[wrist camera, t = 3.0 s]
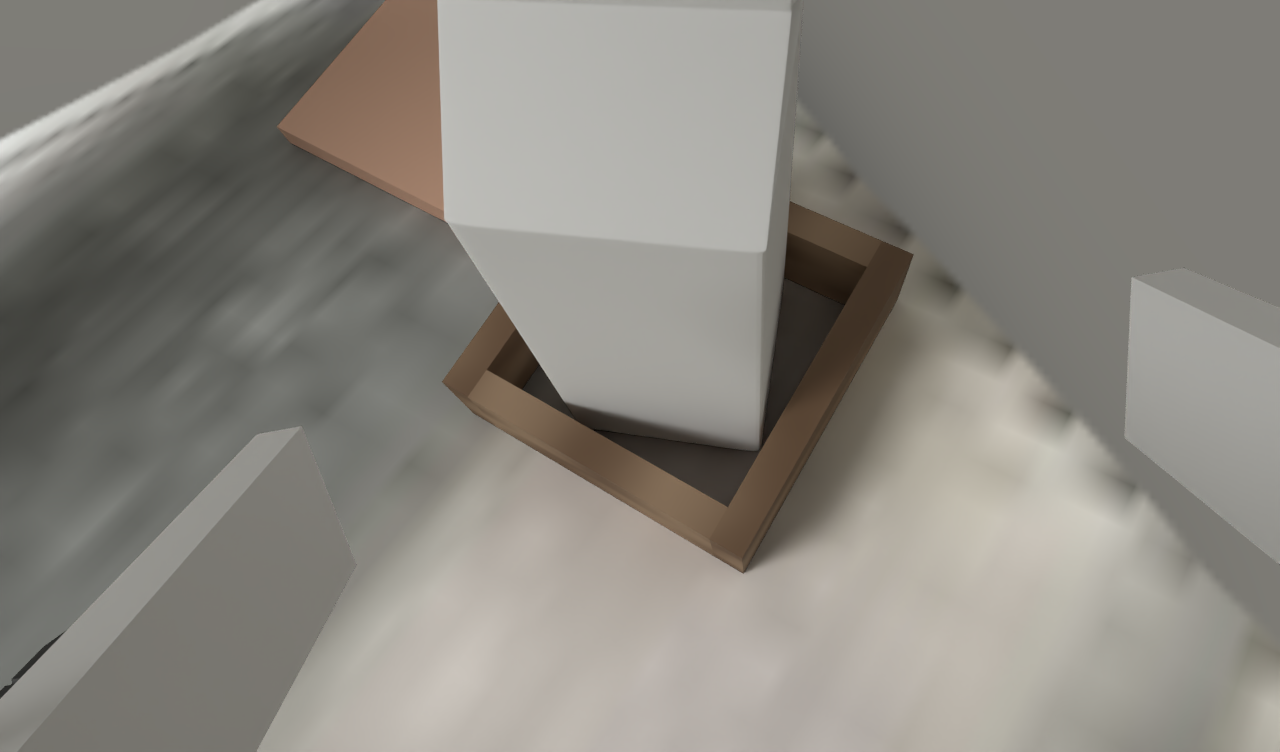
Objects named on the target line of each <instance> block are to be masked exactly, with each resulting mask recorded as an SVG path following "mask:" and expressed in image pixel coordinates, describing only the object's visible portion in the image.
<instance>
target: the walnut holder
mask: <svg viewBox="0 0 1280 752" xmlns="http://www.w3.org/2000/svg"><path fill="white" fill-rule="evenodd" d="M913 255H914V254H911V253H909V252H907V251H904V250H902V249H900V248H897V247H895V246H893V245H890V244H888V243H886V242H883V241H881V240H879V239H876V238H874V237H872V236H869V235H867V234H865V233H862V232H860V231H858V230H855V229H853V228H851V227H848V226H846V225H844V224H841V223H839V222H837V221H834V220H832V219H830V218H827V217H825V216H823V215H820V214H818V213H816V212H813V211H811V210H809V209H806V208H804V207H802V206H799V205H797V204H795V203H792V202H789V216H788V230H787V244H786V258H785V272H784V277H785V278H787V279H789V280H791V281H793V282H796V283H798V284H800V285H802V286H804V287H806V288H809V289H811V290H813V291H815V292H817V293H819V294H822V295H824V296H826V297H828V298H830V299H832V300H835V301H837V302H839V303H841V304H843V305H845V306H844V308H843V309H842V311H841V313H840V315H839V316H838V318H837V320H836V321H835V323H834V325H833V327H832V328H831V330H830V332H829V334H828V335H827V337H826V339H825V340H824V342H823V344H822V346H821V347H820V349H819V351H818V352H817V354H816V356H815V358H814V359H813V361H812V363H811V365H810V366H809V368H808V370H807V371H806V373H805V375H804V377H803V378H802V380H801V382H800V384H799V385H798V387H797V389H796V390H795V392H794V394H793V396H792V397H791V399H790V401H789V402H788V404H787V406H786V408H785V409H784V411H783V413H782V415H781V416H780V418H779V420H778V421H777V423H776V425H775V427H774V428H773V430H772V432H771V433H770V435H769V437H768V439H767V440H766V442H765V444H764V446H763V447H762V449H761V451H760V452H759V454H758V456H757V458H756V459H755V461H754V463H753V465H752V466H751V468H750V470H749V471H748V473H747V475H746V477H745V478H744V480H743V482H742V483H741V485H740V487H739V489H738V490H737V492H736V494H735V496H734V497H733V499H732V501H731V502H730V504H729V506H728V507H727V506H725V505H723V504H721V503H720V502H718V501H716V500H714V499H713V498H711V497H709V496H707V495H706V494H704V493H702V492H700V491H699V490H697V489H695V488H693V487H692V486H690V485H688V484H686V483H684V482H683V481H681V480H679V479H677V478H676V477H674V476H672V475H670V474H669V473H667V472H665V471H663V470H662V469H660V468H658V467H656V466H655V465H653V464H651V463H649V462H648V461H646V460H644V459H642V458H641V457H639V456H637V455H635V454H634V453H632V452H630V451H628V450H627V449H625V448H623V447H621V446H620V445H618V444H616V443H614V442H613V441H611V440H609V439H607V438H606V437H604V436H602V435H600V434H599V433H597V432H595V431H593V430H592V429H590V428H588V427H586V426H585V425H583V424H581V423H579V422H578V421H576V420H574V419H572V418H570V417H569V416H567V415H565V414H563V413H562V412H560V411H558V410H556V409H555V408H553V407H551V406H549V405H548V404H546V403H544V402H542V401H541V400H539V399H537V398H535V397H534V396H532V395H530V394H528V393H527V392H525V391H523V390H522V389H523V387H524V386H525V384H526V383H527V381H528V380H529V379H530V377H531V376H532V374H533V373H534V371H535V370H536V368H537V367H538V365H539V362H538V361H537V359H536V358H535V356H534V355H533V353H532V352H531V350H530V349H529V347H528V346H527V344H526V342H525V341H524V339H523V338H522V336H521V335H520V333H519V332H518V330H517V329H516V327H515V326H514V324H513V323H512V321H511V319H510V318H509V316H508V315H507V313H506V312H505V310H504V309H503V307H502V306H501V304H500V303H498V304H497V306H496V307H495V308H494V310H493V311H492V313H491V314H490V315H489V317H488V318H487V320H486V321H485V322H484V324H483V325H482V327H481V328H480V329H479V331H478V332H477V334H476V335H475V336H474V338H473V339H472V341H471V342H470V343H469V345H468V346H467V348H466V349H465V350H464V352H463V353H462V355H461V356H460V357H459V359H458V360H457V361H456V363H455V364H454V366H453V367H452V368H451V370H450V371H449V373H448V374H447V375H446V377H445V378H444V380H443V381H442V382H443V383H444V384H445V385H446V386H447V387H448V388H449V389H450V390H451V391H452V392H453V393H454V394H455V395H456V396H457V397H458V398H459V399H460V400H461V401H462V402H463V403H464V404H465V405H466V406H467V407H468V408H469V409H470V410H471V411H472V412H473V413H474V414H476V415H478V416H479V417H481V418H483V419H484V420H486V421H488V422H489V423H491V424H493V425H494V426H496V427H498V428H499V429H501V430H503V431H504V432H506V433H508V434H510V435H511V436H513V437H515V438H516V439H518V440H520V441H521V442H523V443H525V444H526V445H528V446H530V447H531V448H533V449H535V450H536V451H538V452H540V453H541V454H543V455H545V456H547V457H548V458H550V459H552V460H553V461H555V462H557V463H558V464H560V465H562V466H563V467H565V468H567V469H568V470H570V471H572V472H573V473H575V474H577V475H579V476H580V477H582V478H584V479H585V480H587V481H589V482H590V483H592V484H594V485H595V486H597V487H599V488H600V489H602V490H604V491H605V492H607V493H609V494H610V495H612V496H614V497H616V498H617V499H619V500H621V501H622V502H624V503H626V504H627V505H629V506H631V507H632V508H634V509H636V510H637V511H639V512H641V513H642V514H644V515H646V516H647V517H649V518H651V519H653V520H654V521H656V522H658V523H659V524H661V525H663V526H664V527H666V528H668V529H669V530H671V531H673V532H674V533H676V534H678V535H679V536H681V537H683V538H685V539H686V540H688V541H690V542H691V543H693V544H695V545H696V546H698V547H700V548H701V549H703V550H705V551H706V552H708V553H710V554H711V555H713V556H715V557H716V558H718V559H720V560H722V561H723V562H725V563H727V564H728V565H730V566H732V567H733V568H735V569H737V570H738V571H740V572H742V573H743V574H744V572H745V570H746V568H747V567H748V565H749V563H750V561H751V559H752V558H753V556H754V554H755V552H756V550H757V549H758V547H759V545H760V543H761V542H762V540H763V538H764V536H765V534H766V533H767V531H768V529H769V527H770V526H771V524H772V522H773V520H774V518H775V517H776V515H777V513H778V511H779V509H780V508H781V506H782V504H783V502H784V501H785V499H786V497H787V495H788V493H789V492H790V490H791V488H792V486H793V485H794V483H795V481H796V479H797V477H798V476H799V474H800V472H801V470H802V468H803V467H804V465H805V463H806V461H807V460H808V458H809V456H810V454H811V452H812V451H813V449H814V447H815V445H816V444H817V442H818V440H819V438H820V436H821V435H822V433H823V431H824V429H825V427H826V426H827V424H828V422H829V420H830V419H831V417H832V415H833V413H834V411H835V410H836V408H837V406H838V404H839V403H840V401H841V399H842V397H843V395H844V394H845V392H846V390H847V388H848V386H849V385H850V383H851V381H852V379H853V378H854V376H855V374H856V372H857V370H858V369H859V367H860V365H861V363H862V362H863V360H864V358H865V356H866V354H867V353H868V351H869V349H870V347H871V345H872V344H873V342H874V340H875V338H876V337H877V335H878V333H879V331H880V329H881V328H882V326H883V324H884V322H885V321H886V319H887V317H888V315H889V313H890V312H891V310H892V308H893V306H894V304H895V303H896V301H897V299H898V296H899V294H900V291H901V288H902V285H903V283H904V280H905V277H906V274H907V271H908V269H909V266H910V263H911V260H912V258H913Z"/></svg>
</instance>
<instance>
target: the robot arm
mask: <svg viewBox="0 0 1280 752" xmlns="http://www.w3.org/2000/svg"><path fill="white" fill-rule="evenodd" d="M1126 394H1127V395H1126V417H1125V438H1126V439H1127V440H1128V441H1129V442H1130V443H1132V444H1133V445H1134V446H1136V447H1137V448H1138V449H1139V450H1140V451H1141V452H1143V453H1144V454H1145V455H1146V456H1148V457H1149V458H1150V459H1151V460H1152V461H1154V462H1155V463H1156V464H1157V465H1158V466H1160V467H1161V468H1162V469H1164V470H1165V471H1166V472H1167V473H1168V474H1170V475H1171V476H1172V477H1173V478H1174V479H1176V480H1177V481H1178V482H1179V483H1181V484H1182V485H1183V486H1184V487H1185V488H1187V489H1188V490H1189V491H1190V492H1191V493H1193V494H1194V495H1195V496H1196V497H1198V498H1199V499H1200V500H1201V501H1202V502H1204V503H1205V504H1206V505H1207V506H1209V507H1210V508H1211V509H1212V510H1213V511H1215V512H1216V513H1217V514H1218V515H1219V516H1221V517H1222V518H1223V519H1224V520H1226V521H1227V522H1228V523H1229V524H1230V525H1232V526H1233V527H1234V528H1235V529H1237V530H1238V531H1239V532H1240V533H1241V534H1243V535H1244V536H1245V537H1246V538H1248V539H1249V540H1250V541H1251V542H1252V543H1254V544H1255V545H1256V546H1257V547H1259V548H1260V549H1261V550H1262V551H1263V552H1265V553H1266V554H1267V555H1268V556H1270V557H1271V558H1272V559H1273V560H1274V561H1276V562H1277V563H1278V564H1279V565H1280V308H1279V307H1277V306H1275V305H1272V304H1270V303H1267V302H1265V301H1263V300H1260V299H1258V298H1256V297H1253V296H1251V295H1248V294H1246V293H1244V292H1241V291H1239V290H1236V289H1234V288H1232V287H1229V286H1227V285H1224V284H1222V283H1220V282H1217V281H1215V280H1212V279H1210V278H1208V277H1205V276H1203V275H1200V274H1198V273H1196V272H1193V271H1191V270H1189V269H1186V268H1179V269H1173V270H1168V271H1162V272H1157V273H1151V274H1146V275H1140V276H1134V277H1132V279H1131V303H1130V325H1129V347H1128V371H1127V393H1126ZM356 565H357V564H356V562H355V559H354V557H353V554H352V552H351V549H350V547H349V544H348V542H347V539H346V537H345V534H344V532H343V529H342V526H341V524H340V521H339V519H338V516H337V514H336V511H335V509H334V506H333V504H332V501H331V499H330V496H329V494H328V491H327V489H326V486H325V484H324V481H323V478H322V476H321V473H320V471H319V468H318V466H317V463H316V461H315V458H314V456H313V453H312V451H311V448H310V446H309V443H308V441H307V438H306V436H305V433H304V430H303V428H302V426H300V427H294V428H289V429H283V430H277V431H272V432H266V433H261V434H257V435H256V436H255V437H254V438H253V439H252V440H251V441H250V442H249V443H248V444H247V445H246V446H245V447H244V448H243V449H242V450H241V451H240V452H239V453H238V454H237V455H236V456H235V457H234V458H233V459H232V461H231V462H230V463H229V464H228V465H227V466H226V467H225V468H224V469H223V470H222V471H221V472H220V473H219V474H218V475H217V476H216V477H215V478H214V479H213V480H212V481H211V482H210V483H209V484H208V485H207V486H206V487H205V488H204V489H203V490H202V491H201V492H200V494H199V495H198V496H197V497H196V498H195V499H194V500H193V501H192V502H191V503H190V504H189V505H188V506H187V507H186V508H185V509H184V510H183V511H182V512H181V513H180V514H179V515H178V516H177V517H176V518H175V519H174V520H173V521H172V522H171V523H170V524H169V525H168V526H167V528H166V529H165V530H164V531H163V532H162V533H161V534H160V535H159V536H158V537H157V538H156V539H155V540H154V541H153V542H152V543H151V544H150V545H149V546H148V547H147V548H146V549H145V550H144V551H143V552H142V553H141V554H140V555H139V556H138V557H137V558H136V559H135V561H134V562H133V563H132V564H131V565H130V566H129V567H128V568H127V569H126V570H125V571H124V572H123V573H122V574H121V575H120V576H119V577H118V578H117V579H116V580H115V581H114V582H113V583H112V584H111V585H110V586H109V587H108V588H107V589H106V590H105V591H104V592H103V593H102V595H101V596H100V597H99V598H98V599H97V600H96V601H95V602H94V603H93V604H92V605H91V606H90V607H89V608H88V609H87V610H86V611H85V612H84V613H83V614H82V615H81V616H80V617H79V618H78V619H77V620H76V621H75V622H74V623H73V624H72V625H71V626H70V628H69V629H68V630H66V631H65V632H64V633H62V634H61V635H59V636H58V637H57V638H55V639H54V640H52V641H51V642H50V643H48V644H47V645H45V646H44V647H43V648H42V649H41V650H40V651H39V652H38V653H37V654H36V655H35V656H34V657H33V658H32V659H31V660H30V661H29V662H28V663H27V664H26V665H25V666H24V667H23V668H22V669H21V670H20V671H19V672H18V673H17V674H16V675H15V676H14V677H13V678H12V684H11V685H8V686H5V687H4V688H3V689H2V690H1V691H0V752H256V751H257V749H258V747H259V745H260V743H261V742H262V740H263V738H264V736H265V734H266V732H267V730H268V729H269V727H270V725H271V723H272V721H273V719H274V717H275V716H276V714H277V712H278V710H279V708H280V706H281V704H282V703H283V701H284V699H285V697H286V695H287V693H288V691H289V690H290V688H291V686H292V684H293V682H294V680H295V678H296V677H297V675H298V673H299V671H300V669H301V667H302V665H303V664H304V662H305V660H306V658H307V656H308V654H309V652H310V651H311V649H312V647H313V645H314V643H315V641H316V639H317V638H318V636H319V634H320V632H321V630H322V628H323V626H324V625H325V623H326V621H327V619H328V617H329V615H330V614H331V612H332V610H333V608H334V606H335V604H336V602H337V601H338V599H339V597H340V595H341V593H342V591H343V589H344V588H345V586H346V584H347V582H348V580H349V578H350V576H351V575H352V573H353V571H354V569H355V567H356Z"/></svg>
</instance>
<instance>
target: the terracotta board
mask: <svg viewBox="0 0 1280 752" xmlns="http://www.w3.org/2000/svg"><path fill="white" fill-rule="evenodd" d="M277 128H278V129H279V130H280V131H281V132H282V133H283V135H284V136H285V137H286V138H287V139H288V141H289V142H290V143H292V144H294V145H296V146H298V147H300V148H302V149H304V150H306V151H307V152H309V153H311V154H313V155H315V156H317V157H319V158H321V159H323V160H325V161H327V162H329V163H331V164H333V165H335V166H337V167H339V168H341V169H343V170H345V171H347V172H349V173H351V174H353V175H355V176H356V177H358V178H360V179H362V180H364V181H366V182H368V183H370V184H372V185H374V186H376V187H378V188H380V189H382V190H384V191H386V192H388V193H390V194H392V195H394V196H396V197H398V198H400V199H402V200H404V201H405V202H407V203H409V204H411V205H413V206H415V207H417V208H419V209H421V210H423V211H425V212H427V213H429V214H431V215H433V216H435V217H437V218H439V219H441V220H443V221H445V220H444V197H443V165H442V133H441V102H440V70H439V39H438V7H437V0H385V1H384V3H383V4H382V5H381V6H380V7H379V8H378V10H377V11H376V12H375V13H374V14H373V15H372V17H371V18H370V19H369V20H368V21H367V22H366V24H365V25H364V26H363V27H362V28H361V29H360V31H359V32H358V33H357V34H356V35H355V36H354V37H353V39H352V40H351V41H350V42H349V43H348V44H347V46H346V47H345V48H344V49H343V50H342V51H341V53H340V54H339V55H338V56H337V57H336V58H335V60H334V61H333V62H332V63H331V64H330V65H329V67H328V68H327V69H326V70H325V71H324V72H323V74H322V75H321V76H320V77H319V78H318V79H317V80H316V82H315V83H314V84H313V85H312V86H311V87H310V89H309V90H308V91H307V92H306V93H305V94H304V96H303V97H302V98H301V99H300V100H299V101H298V103H297V104H296V105H295V106H294V107H293V108H292V110H291V111H290V112H289V113H288V114H287V115H286V117H285V118H284V119H283V120H282V121H281V122H280V124H279V125H278V126H277ZM445 222H446V221H445Z"/></svg>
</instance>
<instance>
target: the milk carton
mask: <svg viewBox="0 0 1280 752" xmlns="http://www.w3.org/2000/svg"><path fill="white" fill-rule="evenodd" d="M803 4H804V0H437V7H438V39H439V70H440V102H441V133H442V165H443V197H444V220H445V221H446V222H447V223H448V224H449V226H450V227H451V229H452V231H453V232H454V234H455V235H456V237H457V238H458V240H459V241H460V243H461V244H462V246H463V247H464V249H465V250H466V252H467V254H468V255H469V257H470V258H471V260H472V261H473V263H474V264H475V266H476V267H477V269H478V270H479V272H480V273H481V275H482V277H483V278H484V280H485V281H486V283H487V284H488V286H489V287H490V289H491V290H492V292H493V293H494V295H495V296H496V298H497V300H498V301H499V303H500V304H501V306H502V307H503V309H504V310H505V312H506V313H507V315H508V316H509V318H510V319H511V321H512V323H513V324H514V326H515V327H516V329H517V330H518V332H519V333H520V335H521V336H522V338H523V339H524V341H525V342H526V344H527V346H528V347H529V349H530V350H531V352H532V353H533V355H534V356H535V358H536V359H537V361H538V362H539V364H540V365H541V367H542V369H543V370H544V372H545V373H546V375H547V376H548V378H549V379H550V381H551V382H552V384H553V385H554V387H555V388H556V390H557V391H558V393H559V395H560V396H561V398H562V399H563V401H564V402H565V404H566V405H567V407H568V408H569V410H570V411H571V413H572V414H573V416H574V418H575V419H576V421H578V422H579V423H581V424H583V425H585V426H586V427H588V428H590V429H597V430H603V431H610V432H618V433H625V434H632V435H639V436H646V437H653V438H660V439H667V440H674V441H681V442H689V443H696V444H703V445H710V446H717V447H724V448H731V449H738V450H746V451H759V450H760V449H761V446H762V438H763V431H764V424H765V417H766V409H767V402H768V395H769V387H770V380H771V373H772V366H773V358H774V351H775V344H776V337H777V329H778V322H779V315H780V307H781V300H782V293H783V286H784V272H785V258H786V244H787V230H788V216H789V202H790V187H791V173H792V159H793V145H794V131H795V117H796V103H797V89H798V74H799V60H800V46H801V32H802V18H803Z"/></svg>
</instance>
